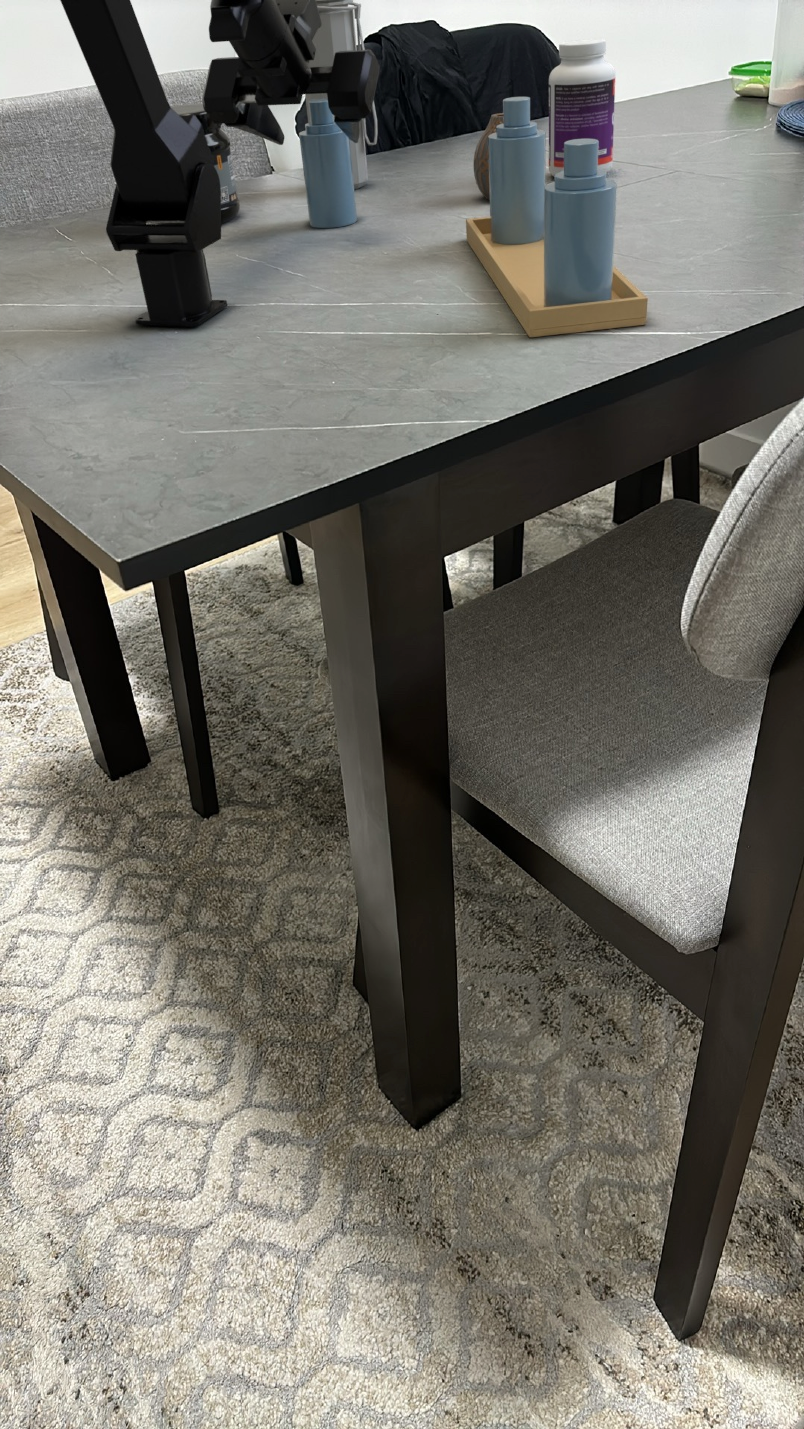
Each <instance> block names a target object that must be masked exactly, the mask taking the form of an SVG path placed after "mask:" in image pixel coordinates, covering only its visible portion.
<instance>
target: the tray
mask: <svg viewBox="0 0 804 1429" xmlns="http://www.w3.org/2000/svg"><path fill="white" fill-rule="evenodd" d="M465 231H466V232H465V233H466V235H465V236H466V242H467V244H468V245H469V246H470V248H471V249H472V251H473V252H474V254H475V255H476V257H477V258H478V260H479V262H480V264H482V266H483V268H484V269H485V271H486V272H487V274H488V276H489V277H490V279H491V280H492V282H493V283H494V285H495V287H496V288H497V289H498V291H499V293H500V295H501V296H502V297H503V299H504V300H505V302H506V303H507V305H508V306H509V308H510V310H511V311H512V313H513V314H514V316H515V317H516V319H517V321H518V322H519V323H520V325H521V327H522V328H523V330H524V331H525V333H526V334H527V336H528V337H529V338H539V337H547V336H554V335H565V334H566V335H567V334H574V333H575V334H576V333H582V332H591V331H600V330H608V329H619V328H627V327H636V326H645V325H647V316H648V315H647V314H648V301H649V300H648V299H649V298H648V297H647V296H646V295H645V294H644V293H643V291H641V290H640V289H639V288H638V287H637V286H636V285H635V284H633V282H632V281H631V280H629V278H627V277H626V276H625V275H624V274H623V273H622V272H621V271H620V270H619V269H618V268H617V267H615V265H614V264H613V281H612V300H606V301H597V302H588V303H579V304H570V305H561V306H552V307H543V287H544V238H543V239H541V240H539V241H536V242H533V243H527V244H518V245H506V244H498V243H494V242H492V241H491V233H490V216H484V217H474V218H466V219H465Z"/></svg>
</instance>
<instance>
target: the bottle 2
mask: <svg viewBox="0 0 804 1429" xmlns="http://www.w3.org/2000/svg"><path fill="white" fill-rule="evenodd" d="M598 146H599V141H598V140H596V139H574V140H569V141H566V142H565V143H564V171H561V172H559V173H556V174H555V176H553V177H554V180H553V181H552V182H549V183H547V184H545V187H544V287H543V307H552V306H561V305H570V304H579V303H588V302H597V301H606V300H612V281H613V265H614V256H615V235H616V234H615V232H616V231H615V230H616V211H617V188H618V183H617V181H615V180H613V179H610V178H607V177H608V176H607V175H608V173H607V172H606V171H604V170H601V169H598Z"/></svg>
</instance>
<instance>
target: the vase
mask: <svg viewBox="0 0 804 1429" xmlns="http://www.w3.org/2000/svg"><path fill="white" fill-rule="evenodd" d="M500 124H503V112H500V113H494V114H491V116H490V119H489V122H488V124H487V126H486V127H485V130H484V132H482V134H481V135H480V138H479V140H478V142H477V144H476V146H475V150H474V155H473V176H474V180H475V183H476V186H477V188H478V191H479V192H480V193H481V194H482V196H484V197H485V198H486V199H487V200H489V201H490V191H489V148H488V136H489V135H490V134H493V133H496V126H498V125H500Z"/></svg>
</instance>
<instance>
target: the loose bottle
mask: <svg viewBox="0 0 804 1429" xmlns="http://www.w3.org/2000/svg"><path fill="white" fill-rule="evenodd" d="M309 109H310V117H311V122H310V123H308V122H307V123H305V124H304V128H305V130H303V131H300V132H299V133H298V139H299V146H300V153H301V161H302V169H303V178H304V186H305V195H306V202H307V203H306V204H307V211H308V219H309V225H310V227H312V228H317V229H334V228H340V227H346V226H350V225H353V224H354V223H357V221H358V214H357V206H356V205H357V203H356V195H355V194H356V193H355V189H354V181H353V171H352V161H351V150H350V140H349V138H348V137H347V136H346V134H345V133H344V132H343V131H342V130H341V129H340V128H339V127H338V126H337V124H336V123H335V122H334V115H333V114H332V113H331V111H330V109H329V107H328V99H316V100H311V101H309Z"/></svg>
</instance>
